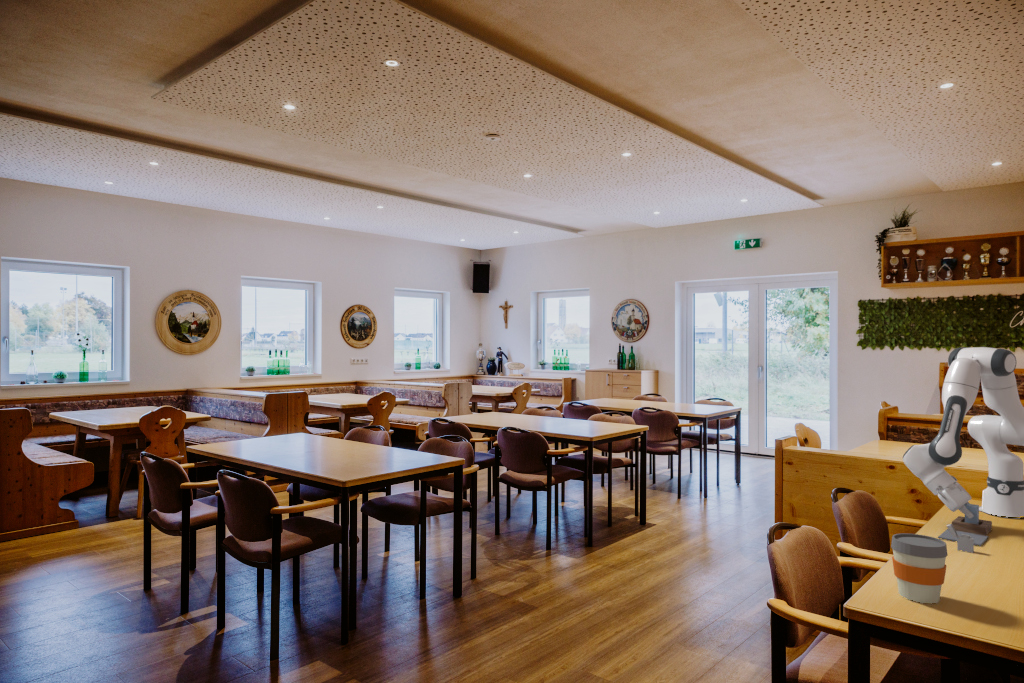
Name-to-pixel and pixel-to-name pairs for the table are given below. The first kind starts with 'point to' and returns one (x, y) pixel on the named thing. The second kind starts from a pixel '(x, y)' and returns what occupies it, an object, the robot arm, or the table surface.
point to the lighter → (962, 540)
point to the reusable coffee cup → (919, 566)
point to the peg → (975, 511)
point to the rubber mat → (977, 538)
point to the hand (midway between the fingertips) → (973, 515)
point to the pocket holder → (972, 526)
